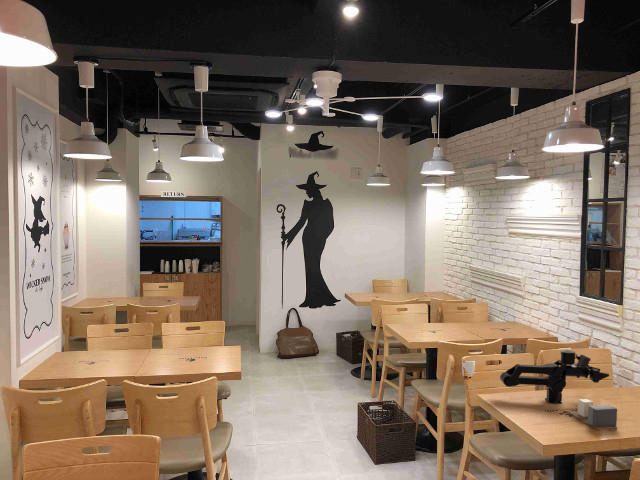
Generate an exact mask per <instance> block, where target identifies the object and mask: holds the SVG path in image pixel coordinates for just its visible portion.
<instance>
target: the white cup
mask: <svg viewBox="0 0 640 480" xmlns="http://www.w3.org/2000/svg"><path fill="white" fill-rule="evenodd" d="M463 367H464V368H465V370H466V371H467V372H468V373H469V375H470V376H472V375H473V373H474V374H475V371H474V370H476V360H475V361H465V363H463V362H462V361H461V371H462V372H461V373H462V375H461V376H462V377H464V370H463Z"/></svg>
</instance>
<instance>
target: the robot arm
mask: <svg viewBox="0 0 640 480" xmlns="http://www.w3.org/2000/svg"><path fill="white" fill-rule="evenodd" d="M575 360H577V363H576V361H575ZM590 362H591V358H590V357H589V356H587V355H584V354H578V355H576V351H574V350H567V349H566V350H561V351H560V359H557V360H556V361H554V362H553V363H546V364H542V365H539V364H538V365H537V364H519V363H516V364H515V365H513V367H511V368H509V369H507V370H506V371H504V372H502V373H501V374H500V377H499V380H500V382H502V384H503V385H505V387H515V386H520V385H527V386H531V385H532V386H545V387H546V397H545V398H544V399H545V400H546V401H547V402H548V403H549V404H563V402H562V401H563V394H562V392H563V390H564V389H565V388H566V386H567V381H566V380H567V377H570V378H571V377H573V378H577V379H579V378H580V379H581V378H584V379H588V378H589V380H590V382H593V383H596V384H598V383H599V382H600V381H602V380H604V379H606V378H607V377H610V373H606V372H601V368H598V367H594V366H592V365H589V363H590ZM522 374H536V375H541V374H542V375H547V376H534V375H533V376H532V375H529V376H528V375H522Z"/></svg>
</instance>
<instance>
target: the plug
mask: <svg viewBox="0 0 640 480" xmlns="http://www.w3.org/2000/svg"><path fill="white" fill-rule="evenodd" d="M577 400H578V401H577V411H578V414H579V415H581V416H583V417H588V406H594V401H593V400H590V399H589V398H581V399H577Z"/></svg>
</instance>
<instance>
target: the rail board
mask: <svg viewBox="0 0 640 480" xmlns="http://www.w3.org/2000/svg"><path fill="white" fill-rule="evenodd" d="M566 413H567V414H566V415H568V416H570V417H572V418H574V419H576V420H578V421H580V422H581V423H583V424H585V425H587V426H589V427H591V428H592V429H594V430H596V431H612V430H613V431H615V430H618V426H617V425H616V426H607V427H594V426H592V425H591V424H589V423H588V417H583V416H581V415H579V414H578V410H571V411H570V410H569V411H566Z"/></svg>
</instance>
